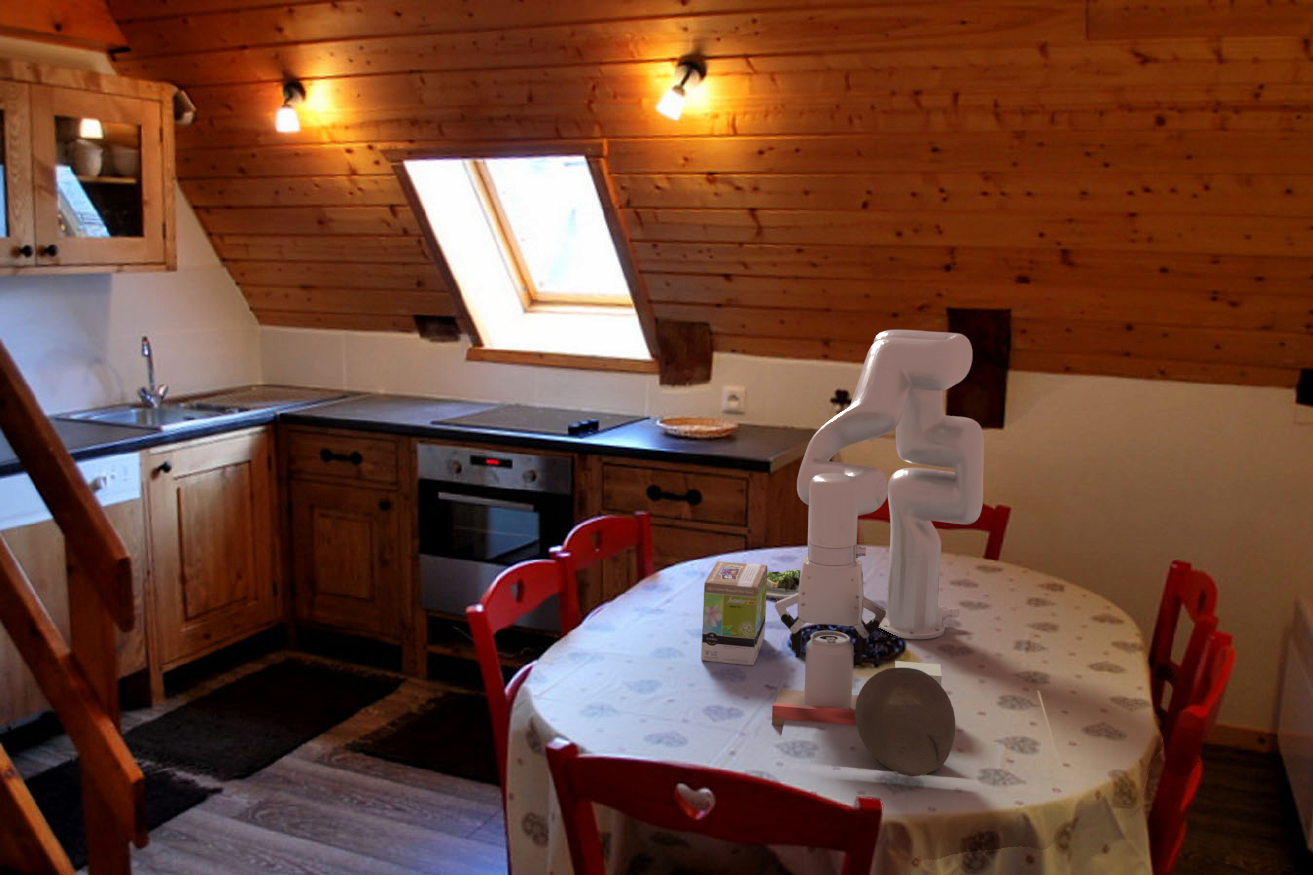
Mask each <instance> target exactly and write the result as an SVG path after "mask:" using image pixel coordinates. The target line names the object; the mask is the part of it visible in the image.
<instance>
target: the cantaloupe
mask: <svg viewBox="0 0 1313 875" xmlns="http://www.w3.org/2000/svg"><path fill="white" fill-rule="evenodd" d="M952 704H953V703H952V702H951V699H950V697H949V695H948V693H947V691H946V690H944V688H943V687H942V684H941V685H940V684H939V683H938V682H937V681H936V680H935V679H934V678H933V677H931V676H930V675H928V674H926V673H925V672H923V671H921V670H917V669H913V668H895V667H889V668H886V669H883V670H881V671H879V672H877V673H875V674H874V675H872V676H871V677H869V679H868V680H866V682H865V683H864V685H863V686H862V688H861V689H860V691H859V694H858V698H857V700H856V708H855V719H856V724H857V725H856V728H857V730H858V734H859V737H860V739H861V742H862V744H863V745H864V747H865V748H866V749H867V750H868V751H869V753H871V755H872V756H873V758H875V759H876V760H877V761H878V762H879V764H882V765H883V766H884V767H886V768H887V769H889V770H891V771H893V772H895V773H897V774H900V775H902V776H907V777H913V778H914V777H920V776H925V775H928V774H930V773H933V772H934V771H937V770H938V769H939V768H941V767H942V766H943V765H944V764H945V763H946V761H947V760H948V758H949V756H950V754H951V751H952V747H953V745H954V744H953V743H954V740H955V735H956V717H955V710H954V707H953V705H952Z"/></svg>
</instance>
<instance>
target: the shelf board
mask: <svg viewBox="0 0 1313 875" xmlns="http://www.w3.org/2000/svg"><path fill="white" fill-rule="evenodd" d="M858 695H859V694H858ZM858 695H857V694H852V698H851V706H850V708H848V709H842V708H831V707H819V706H807V705H806V704H805V703H804V690H799V689H788V688H787V689H786V688H779V689H778V692H777V697H776V700H775V702H772V707H771V708H772V709H771V710H772V711H771V712H772V713H771V725H772V726H780V727H781V726H782V727H784V726H785V720H794V721H804V722H814V723H815V722H816V723H826V724H837V725H849V726H857V724H856V719H855V708H856V700H857V698H858Z"/></svg>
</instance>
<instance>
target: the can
mask: <svg viewBox="0 0 1313 875" xmlns="http://www.w3.org/2000/svg"><path fill="white" fill-rule="evenodd" d="M850 641H851V637H850V636H848V634H846V633H843V632H840V631H837V630H836V631H835V630H820V631H819V630H818V631H815V632H813V633H812V634H810V639H809V640H808V641H807V642H806V644H805V665H804V668H805V669H804V688H803V689H804V690H803V691H804V703H805V704H806V705H807V706H819V707H831V708H842V709H848V708H850V706H851V698H852V695H853V676H854V674H853V673H854V653H855V652H854V651H855V649H854V645H853V643H851V642H850Z"/></svg>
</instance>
